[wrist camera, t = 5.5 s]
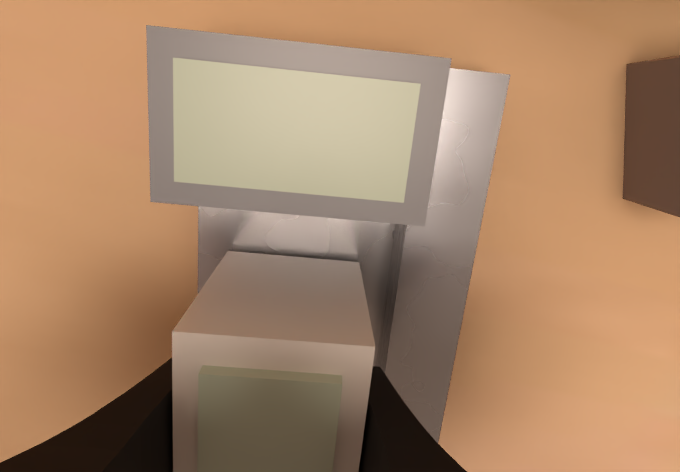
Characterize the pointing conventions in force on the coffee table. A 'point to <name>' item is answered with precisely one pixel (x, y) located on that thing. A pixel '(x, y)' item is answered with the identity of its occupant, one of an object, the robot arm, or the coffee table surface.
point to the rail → (398, 248)
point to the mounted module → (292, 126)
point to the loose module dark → (653, 134)
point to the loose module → (273, 367)
